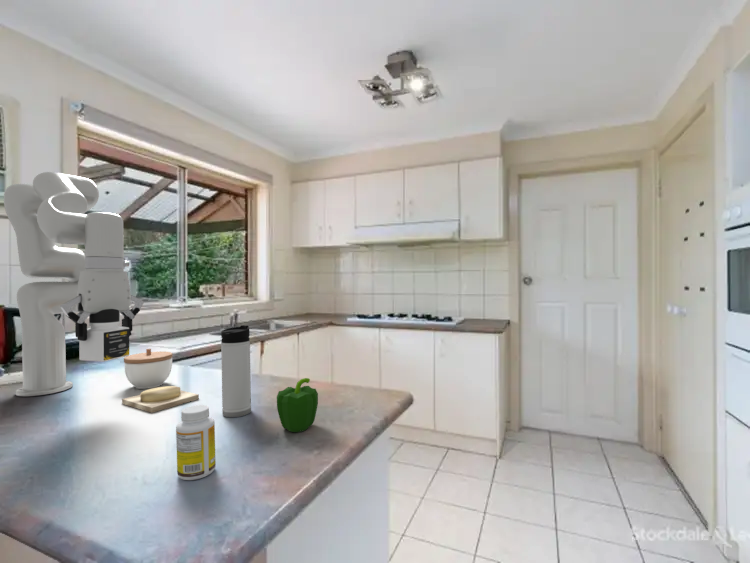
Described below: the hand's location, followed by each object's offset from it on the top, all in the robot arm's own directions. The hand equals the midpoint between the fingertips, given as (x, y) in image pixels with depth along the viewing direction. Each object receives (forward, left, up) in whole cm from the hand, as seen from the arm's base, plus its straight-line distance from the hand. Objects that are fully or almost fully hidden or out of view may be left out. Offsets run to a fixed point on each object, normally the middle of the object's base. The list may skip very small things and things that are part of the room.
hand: (105, 337), depth 92 cm
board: (+4, +11, -18) cm, 21 cm away
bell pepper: (+48, +15, -18) cm, 53 cm away
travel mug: (+29, +15, -18) cm, 37 cm away
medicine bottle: (0, 0, -5) cm, 5 cm away
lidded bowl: (-15, +18, -18) cm, 30 cm away
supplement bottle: (+47, -7, -18) cm, 50 cm away
